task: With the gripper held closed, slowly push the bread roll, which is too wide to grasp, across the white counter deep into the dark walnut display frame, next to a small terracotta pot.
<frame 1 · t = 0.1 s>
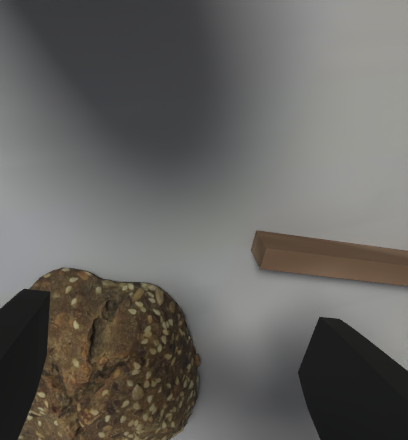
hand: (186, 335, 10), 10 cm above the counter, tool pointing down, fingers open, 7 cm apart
bread roll: (98, 352, 23), on the counter
walnut display frame: (339, 374, 26), on the counter
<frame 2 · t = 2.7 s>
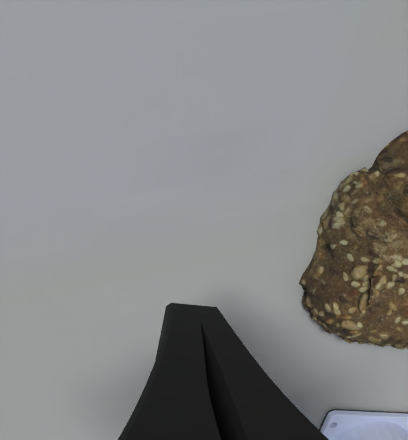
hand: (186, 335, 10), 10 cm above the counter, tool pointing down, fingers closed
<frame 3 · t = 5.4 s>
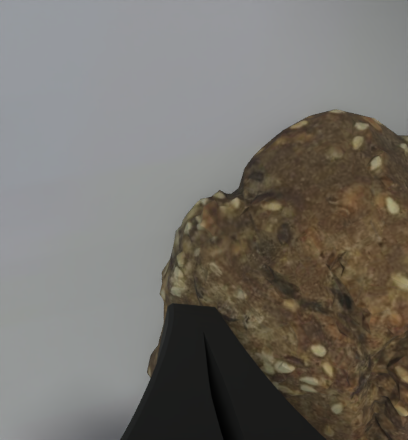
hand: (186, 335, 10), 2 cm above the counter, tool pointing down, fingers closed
bread roll: (324, 292, 14), on the counter, touching gripper
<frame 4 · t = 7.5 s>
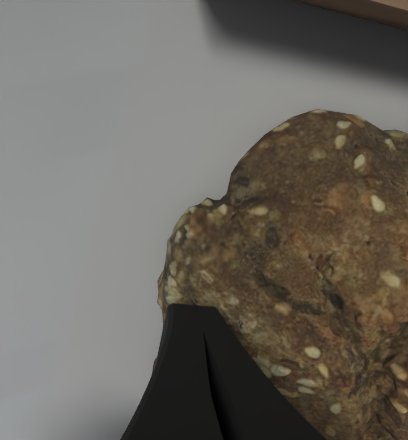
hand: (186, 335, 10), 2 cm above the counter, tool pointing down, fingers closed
bread roll: (322, 290, 14), on the counter
walnut display frame: (377, 306, 14), on the counter
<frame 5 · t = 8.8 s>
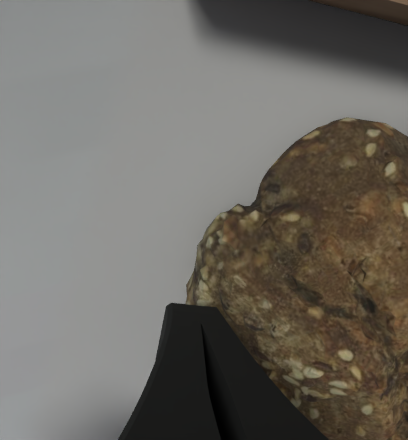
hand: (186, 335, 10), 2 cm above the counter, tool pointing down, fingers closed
bread roll: (345, 293, 14), on the counter
walnut display frame: (373, 303, 14), on the counter
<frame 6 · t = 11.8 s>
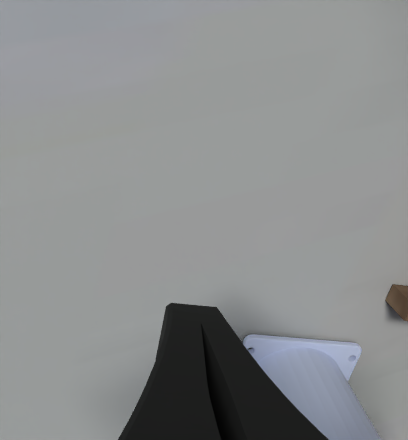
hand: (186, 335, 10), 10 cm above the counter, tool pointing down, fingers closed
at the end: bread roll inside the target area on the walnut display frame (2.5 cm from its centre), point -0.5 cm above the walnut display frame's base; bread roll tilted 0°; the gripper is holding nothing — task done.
